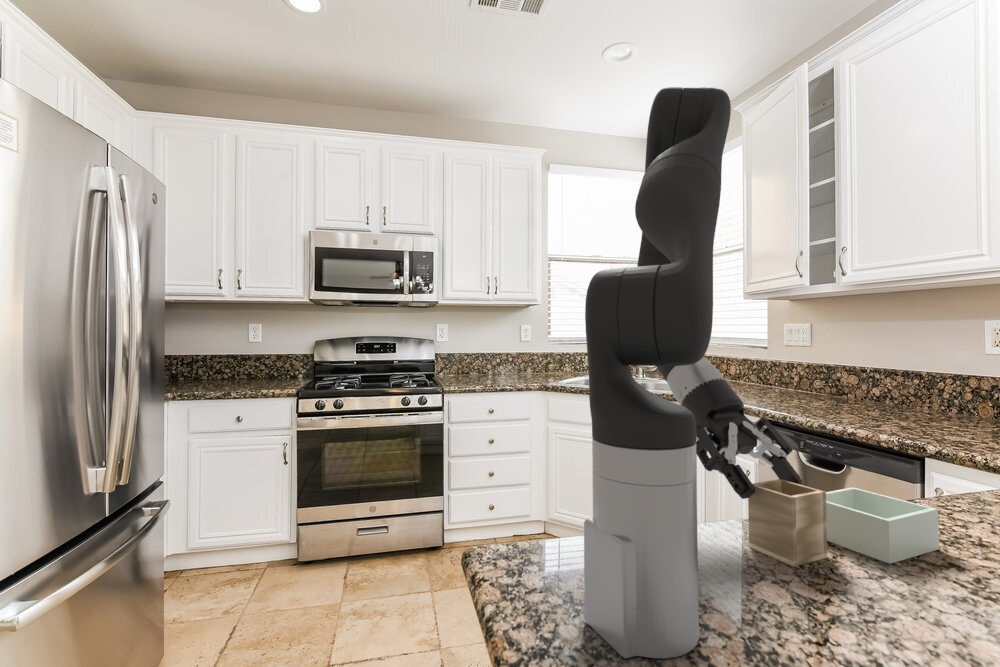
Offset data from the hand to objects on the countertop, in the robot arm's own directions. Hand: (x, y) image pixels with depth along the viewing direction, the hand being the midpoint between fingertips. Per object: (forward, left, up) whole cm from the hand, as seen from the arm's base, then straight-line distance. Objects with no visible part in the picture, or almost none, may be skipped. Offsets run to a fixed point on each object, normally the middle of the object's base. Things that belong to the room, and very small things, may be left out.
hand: (773, 491), depth 62 cm
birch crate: (0, -2, -7) cm, 7 cm away
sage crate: (+13, -4, -7) cm, 15 cm away
